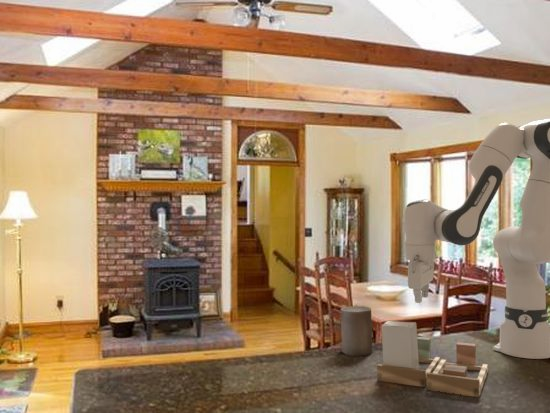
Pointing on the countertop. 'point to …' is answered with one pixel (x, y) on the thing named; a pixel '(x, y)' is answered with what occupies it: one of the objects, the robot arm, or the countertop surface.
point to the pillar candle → (356, 330)
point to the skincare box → (400, 344)
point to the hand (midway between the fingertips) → (421, 299)
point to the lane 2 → (457, 383)
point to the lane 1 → (410, 374)
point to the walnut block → (455, 370)
